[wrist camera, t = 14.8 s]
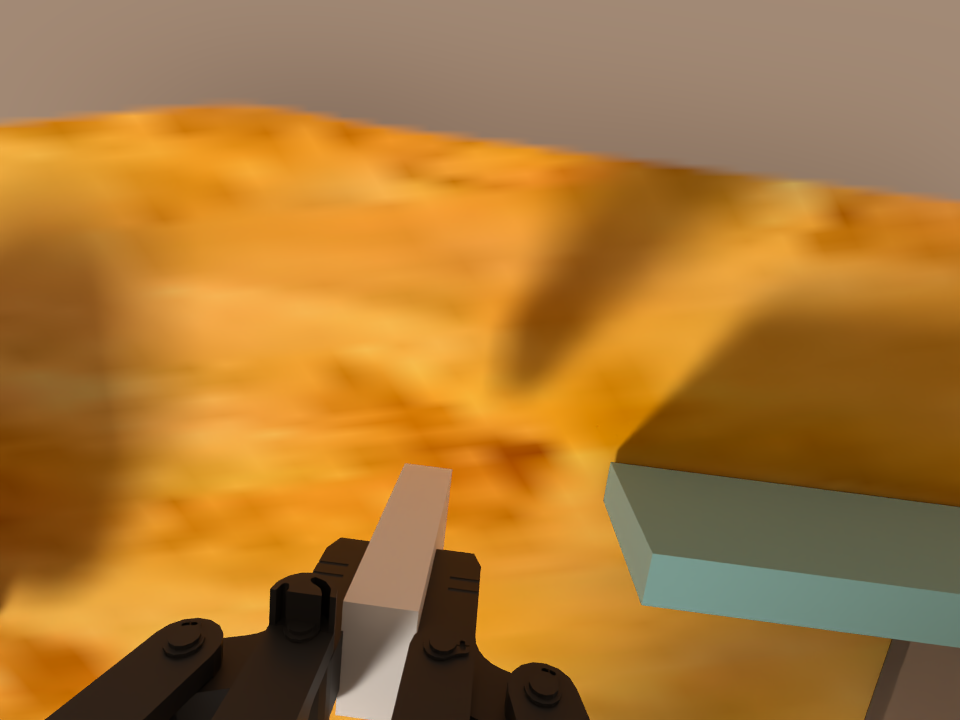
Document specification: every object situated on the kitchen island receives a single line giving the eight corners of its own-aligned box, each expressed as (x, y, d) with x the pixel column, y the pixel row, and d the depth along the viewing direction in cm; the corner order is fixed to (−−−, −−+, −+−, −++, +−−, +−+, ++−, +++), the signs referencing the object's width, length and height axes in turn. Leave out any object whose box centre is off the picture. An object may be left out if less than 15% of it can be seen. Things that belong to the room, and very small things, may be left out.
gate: (999, 552, 20) (1198, 679, 14) (603, 500, 21) (641, 604, 15) (1013, 514, 20) (1224, 629, 14) (610, 462, 20) (652, 553, 14)
